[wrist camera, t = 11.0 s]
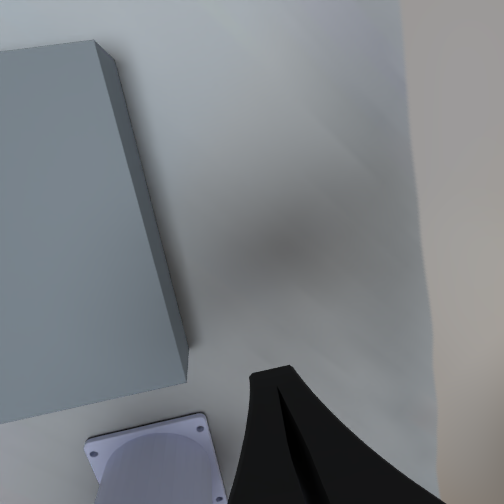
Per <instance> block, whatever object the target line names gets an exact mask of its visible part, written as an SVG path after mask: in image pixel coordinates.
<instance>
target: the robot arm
mask: <svg viewBox="0 0 504 504" xmlns="http://www.w3.org/2000/svg"><path fill="white" fill-rule="evenodd" d="M249 380H250V400H249V411H248V417H247V424H246V431H245V436H244V441H243V445H242V450H241V455H240V459H239V464H238V467H237V471H236V475H235V479H234V482H233V486H232V489H231V493H230V496H229V499H228V500H227V496H226V493H225V489H224V485H223V481H222V477H221V473H220V469H219V465H218V462H217V458H216V454H215V450H214V446H213V442H212V438H211V434H210V431H209V427H208V423H207V419H206V416H205V415H204V414H201V413H198V414H193V415H189V416H185V417H181V418H176V419H172V420H168V421H163V422H159V423H155V424H150V425H146V426H142V427H138V428H133V429H129V430H125V431H120V432H116V433H112V434H107V435H103V436H99V437H95V438H90V439H88V440H87V441H86V443H85V445H84V451H85V453H86V456H87V458H88V460H89V462H90V465H91V467H92V469H93V472H94V474H95V476H96V478H97V481H98V483H99V485H100V486H99V489H98V493H97V496H96V499H95V503H94V504H446V503H444V502H443V501H441V500H440V499H439V498H437V497H436V496H434V495H433V494H431V493H430V492H428V491H427V490H425V489H424V488H422V487H421V486H420V485H418V484H417V483H415V482H414V481H412V480H411V479H409V478H408V477H407V476H405V475H404V474H403V473H401V472H400V471H399V470H397V469H396V468H395V467H393V466H392V465H391V464H390V463H388V462H387V461H386V460H384V459H383V458H382V457H381V456H380V455H378V454H377V453H376V452H375V451H373V450H372V449H371V448H370V447H369V446H367V445H366V444H365V443H364V442H363V441H362V440H360V439H359V438H358V437H357V436H356V435H355V434H354V433H353V432H352V431H351V430H349V429H348V428H347V427H346V426H345V425H344V424H343V423H342V422H341V421H340V420H339V419H338V418H337V417H336V416H335V415H334V414H333V413H332V412H331V411H330V410H329V409H328V408H327V407H326V406H325V405H324V404H323V403H322V402H321V401H320V400H319V399H318V397H317V396H316V395H315V394H314V393H313V392H312V391H311V389H310V388H309V387H308V386H307V385H306V384H305V382H304V381H303V380H302V379H301V377H300V376H299V375H298V373H297V372H296V371H295V369H294V368H293V367H292V366H290V365H287V366H282V367H278V368H273V369H269V370H265V371H260V372H256V373H252V374H251V375H250V377H249ZM198 426H202V427H198ZM94 451H96V452H94Z"/></svg>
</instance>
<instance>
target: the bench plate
mask: <svg viewBox="0 0 504 504" xmlns="http://www.w3.org/2000/svg"><path fill="white" fill-rule="evenodd" d="M188 355H189V348H188V344H187V340H186V336H185V332H184V328H183V324H182V320H181V316H180V313H179V309H178V305H177V301H176V297H175V293H174V289H173V285H172V281H171V278H170V274H169V270H168V266H167V262H166V258H165V254H164V250H163V246H162V243H161V239H160V235H159V231H158V227H157V223H156V219H155V215H154V211H153V208H152V204H151V200H150V196H149V192H148V188H147V184H146V180H145V176H144V173H143V169H142V165H141V161H140V157H139V153H138V149H137V145H136V141H135V138H134V134H133V130H132V126H131V122H130V118H129V114H128V110H127V106H126V103H125V99H124V95H123V91H122V87H121V83H120V79H119V75H118V72H117V68H116V64H115V60H114V59H113V58H112V57H111V56H110V55H109V54H108V53H107V52H106V51H105V50H104V49H103V48H102V47H101V46H100V45H99V44H98V43H96V42H95V41H94V40H88V41H80V42H72V43H64V44H56V45H49V46H41V47H33V48H25V49H17V50H9V51H1V52H0V424H3V423H8V422H12V421H16V420H21V419H25V418H30V417H34V416H39V415H43V414H48V413H52V412H57V411H61V410H66V409H70V408H75V407H79V406H84V405H88V404H93V403H97V402H102V401H106V400H110V399H115V398H119V397H124V396H128V395H133V394H137V393H142V392H146V391H151V390H155V389H160V388H164V387H169V386H173V385H178V384H182V383H187V370H188Z"/></svg>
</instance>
